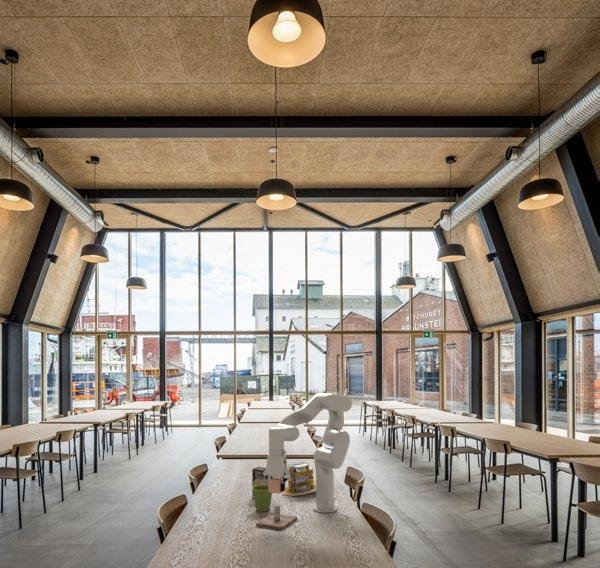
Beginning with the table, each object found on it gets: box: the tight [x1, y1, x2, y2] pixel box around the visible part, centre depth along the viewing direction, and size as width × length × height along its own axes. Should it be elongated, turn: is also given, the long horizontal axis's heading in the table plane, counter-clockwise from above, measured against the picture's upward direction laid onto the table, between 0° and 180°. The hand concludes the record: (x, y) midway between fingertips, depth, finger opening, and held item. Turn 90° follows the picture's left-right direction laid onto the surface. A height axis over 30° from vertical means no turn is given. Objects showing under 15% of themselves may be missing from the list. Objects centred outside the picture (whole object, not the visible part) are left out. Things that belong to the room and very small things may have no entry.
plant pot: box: [251, 485, 273, 512], centre depth 265 cm, size 12×12×11 cm
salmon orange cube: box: [268, 477, 282, 495], centre depth 246 cm, size 6×6×6 cm
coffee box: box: [251, 466, 268, 499], centre depth 287 cm, size 9×6×16 cm
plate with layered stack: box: [281, 460, 316, 496], centre depth 298 cm, size 25×25×17 cm
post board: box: [255, 504, 298, 532], centre depth 244 cm, size 16×14×8 cm
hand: (276, 490), depth 246 cm, fingers closed on salmon orange cube, 5 cm apart
